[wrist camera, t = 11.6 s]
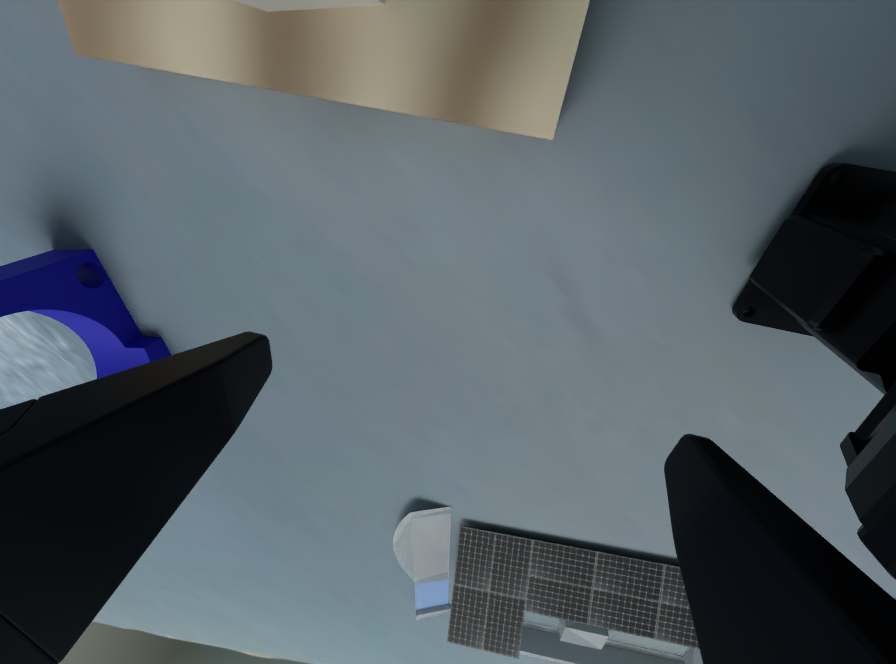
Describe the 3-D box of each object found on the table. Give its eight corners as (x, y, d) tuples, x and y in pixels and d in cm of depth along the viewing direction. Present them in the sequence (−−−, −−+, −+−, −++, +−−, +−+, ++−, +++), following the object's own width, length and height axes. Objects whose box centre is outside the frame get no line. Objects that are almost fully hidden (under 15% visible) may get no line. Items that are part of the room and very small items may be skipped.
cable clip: (200, 404, 28) (128, 471, 23) (150, 400, 29) (70, 463, 24) (116, 248, 22) (-7, 291, 17) (56, 249, 23) (-79, 290, 18)
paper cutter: (904, 710, 32) (967, 812, 28) (404, 599, 39) (387, 666, 34) (1099, 615, 23) (1244, 745, 18) (394, 489, 29) (369, 561, 25)
